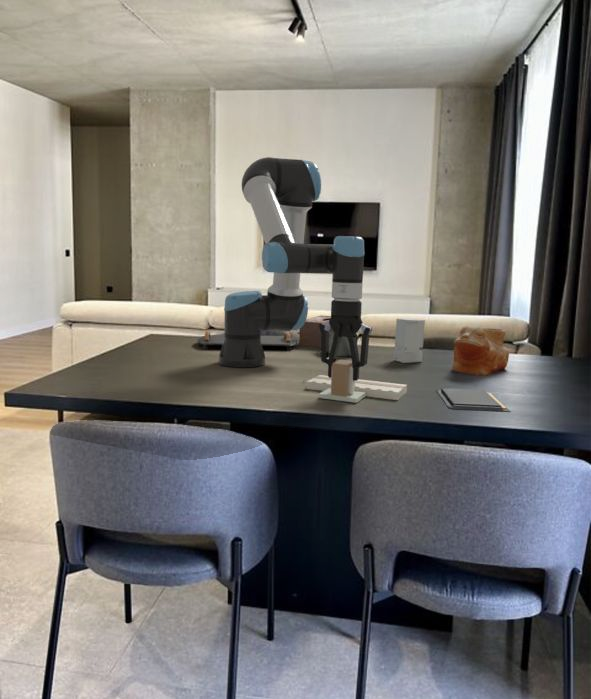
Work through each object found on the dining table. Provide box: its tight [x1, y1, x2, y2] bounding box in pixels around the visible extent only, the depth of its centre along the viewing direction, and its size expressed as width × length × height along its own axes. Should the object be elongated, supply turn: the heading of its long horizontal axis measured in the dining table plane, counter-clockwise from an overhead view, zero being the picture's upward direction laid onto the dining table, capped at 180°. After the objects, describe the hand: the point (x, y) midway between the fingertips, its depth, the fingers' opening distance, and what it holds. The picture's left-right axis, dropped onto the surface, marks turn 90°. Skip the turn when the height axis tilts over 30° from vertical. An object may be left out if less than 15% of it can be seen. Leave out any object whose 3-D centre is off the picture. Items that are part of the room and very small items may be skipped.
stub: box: [318, 359, 367, 404], centre depth 149 cm, size 10×8×9 cm
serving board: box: [196, 329, 298, 351], centre depth 228 cm, size 39×23×6 cm, turn 95°
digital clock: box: [329, 326, 351, 357], centre depth 215 cm, size 16×9×11 cm, turn 10°
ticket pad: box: [305, 374, 408, 401], centre depth 158 cm, size 25×10×2 cm, turn 67°
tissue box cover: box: [298, 314, 331, 349], centre depth 240 cm, size 26×14×10 cm, turn 159°
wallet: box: [435, 388, 512, 413], centre depth 150 cm, size 20×2×15 cm
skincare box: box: [393, 317, 426, 364], centre depth 203 cm, size 8×6×15 cm
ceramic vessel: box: [451, 325, 510, 376], centre depth 191 cm, size 14×26×15 cm, turn 137°
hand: (342, 391), depth 149 cm, fingers closed on stub, 4 cm apart
